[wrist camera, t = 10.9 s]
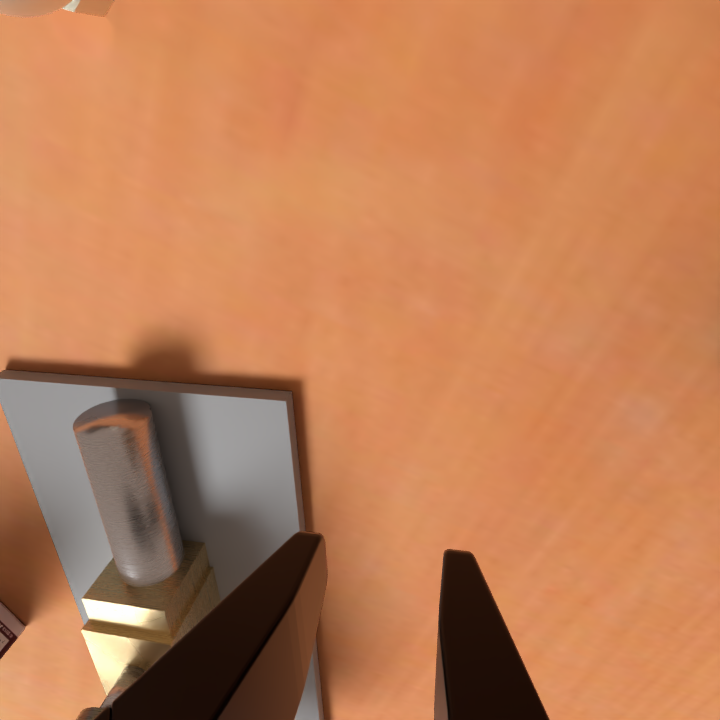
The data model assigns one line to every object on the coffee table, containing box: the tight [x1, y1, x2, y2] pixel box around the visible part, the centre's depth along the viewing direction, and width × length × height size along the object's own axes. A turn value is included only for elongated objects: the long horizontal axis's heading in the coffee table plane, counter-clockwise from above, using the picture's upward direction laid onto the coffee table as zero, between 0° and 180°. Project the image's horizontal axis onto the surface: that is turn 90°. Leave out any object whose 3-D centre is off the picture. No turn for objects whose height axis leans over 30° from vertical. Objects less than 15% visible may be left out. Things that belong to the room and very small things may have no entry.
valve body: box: [73, 399, 221, 709], centre depth 27 cm, size 25×4×6 cm, turn 2°
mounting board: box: [0, 370, 324, 720], centre depth 30 cm, size 26×14×1 cm, turn 2°
